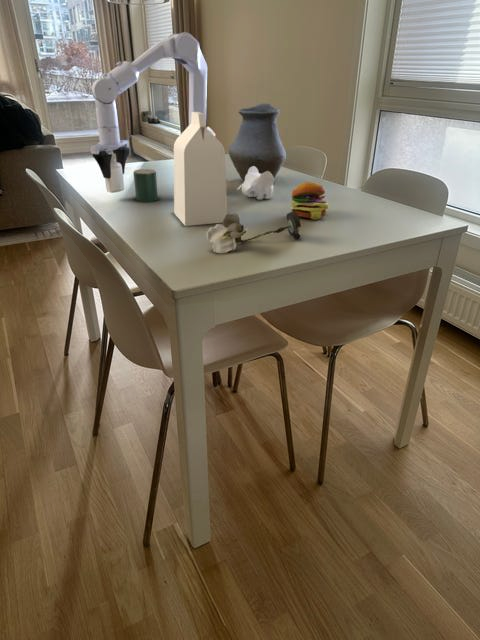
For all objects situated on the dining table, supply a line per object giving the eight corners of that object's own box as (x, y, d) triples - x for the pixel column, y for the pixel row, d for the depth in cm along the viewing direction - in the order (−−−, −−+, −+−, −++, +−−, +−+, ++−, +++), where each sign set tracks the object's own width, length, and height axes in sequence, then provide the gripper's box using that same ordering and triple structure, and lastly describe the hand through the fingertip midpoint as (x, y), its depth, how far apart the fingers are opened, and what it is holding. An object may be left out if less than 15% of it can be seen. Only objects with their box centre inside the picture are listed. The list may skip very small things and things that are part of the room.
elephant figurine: (232, 196, 144) (233, 167, 139) (265, 192, 149) (266, 164, 144) (247, 203, 136) (248, 173, 132) (281, 199, 142) (282, 170, 137)
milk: (174, 213, 126) (168, 111, 114) (213, 210, 130) (212, 110, 117) (185, 226, 116) (180, 115, 104) (227, 222, 120) (227, 114, 107)
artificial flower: (306, 248, 107) (310, 212, 100) (214, 269, 102) (212, 232, 95) (291, 228, 113) (294, 192, 106) (204, 246, 108) (201, 210, 101)
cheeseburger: (299, 221, 121) (298, 182, 118) (285, 219, 131) (283, 183, 128) (333, 218, 123) (333, 180, 121) (317, 217, 133) (316, 181, 131)
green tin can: (161, 198, 140) (160, 170, 136) (149, 202, 135) (147, 174, 131) (144, 195, 143) (142, 168, 139) (131, 200, 138) (128, 171, 134)
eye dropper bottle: (126, 191, 137) (122, 149, 131) (108, 193, 134) (102, 151, 129) (123, 188, 140) (118, 147, 134) (104, 190, 138) (99, 148, 132)
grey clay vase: (219, 184, 158) (219, 105, 146) (239, 172, 176) (240, 101, 164) (277, 189, 153) (281, 108, 141) (291, 176, 171) (296, 103, 159)
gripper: (113, 123, 136) (118, 170, 142) (79, 128, 124) (86, 179, 131) (132, 125, 133) (137, 172, 140) (99, 130, 122) (106, 181, 128)
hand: (114, 176), depth 135 cm, fingers closed on eye dropper bottle, 5 cm apart
